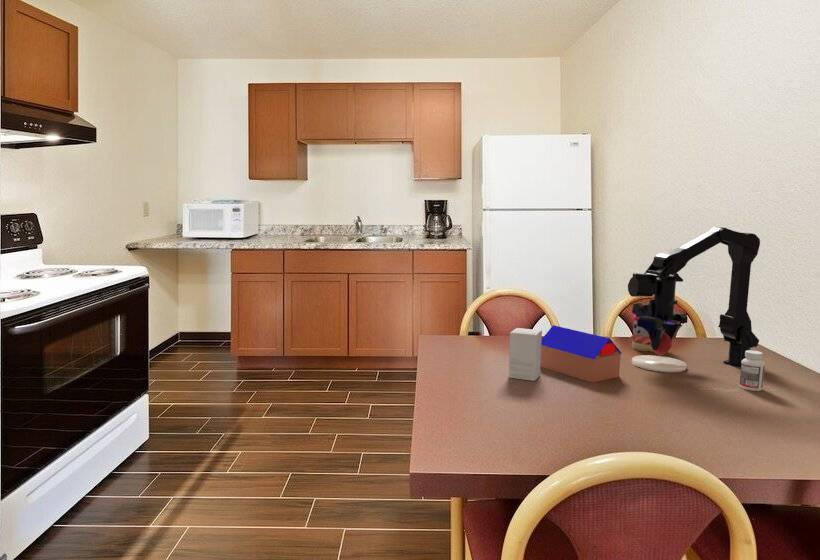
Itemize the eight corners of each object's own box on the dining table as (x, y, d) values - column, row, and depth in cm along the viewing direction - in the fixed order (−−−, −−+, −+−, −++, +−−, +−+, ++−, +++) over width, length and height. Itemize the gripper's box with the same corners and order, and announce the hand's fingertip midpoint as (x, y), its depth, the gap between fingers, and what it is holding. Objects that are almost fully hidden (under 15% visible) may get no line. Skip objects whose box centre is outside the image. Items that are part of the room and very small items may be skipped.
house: (564, 361, 184) (566, 323, 183) (620, 377, 168) (623, 336, 166) (536, 366, 177) (538, 327, 176) (592, 383, 161) (595, 340, 160)
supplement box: (540, 375, 168) (543, 329, 166) (534, 381, 161) (536, 334, 159) (514, 371, 171) (516, 327, 169) (507, 377, 164) (509, 331, 162)
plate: (648, 356, 192) (648, 352, 191) (695, 367, 180) (696, 363, 180) (622, 363, 182) (622, 359, 182) (669, 375, 171) (670, 371, 171)
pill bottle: (747, 384, 164) (751, 348, 162) (767, 390, 159) (770, 353, 157) (734, 386, 161) (737, 350, 160) (753, 392, 156) (757, 355, 155)
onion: (672, 358, 177) (674, 331, 176) (651, 356, 178) (653, 329, 178) (668, 354, 183) (670, 328, 182) (647, 352, 184) (650, 326, 183)
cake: (625, 344, 208) (628, 301, 206) (654, 344, 209) (657, 301, 207) (639, 352, 197) (643, 306, 196) (670, 352, 199) (674, 306, 197)
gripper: (655, 290, 191) (651, 339, 193) (621, 295, 179) (618, 347, 181) (690, 295, 182) (686, 346, 184) (657, 300, 170) (653, 355, 172)
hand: (660, 348), depth 181 cm, fingers closed on onion, 6 cm apart
